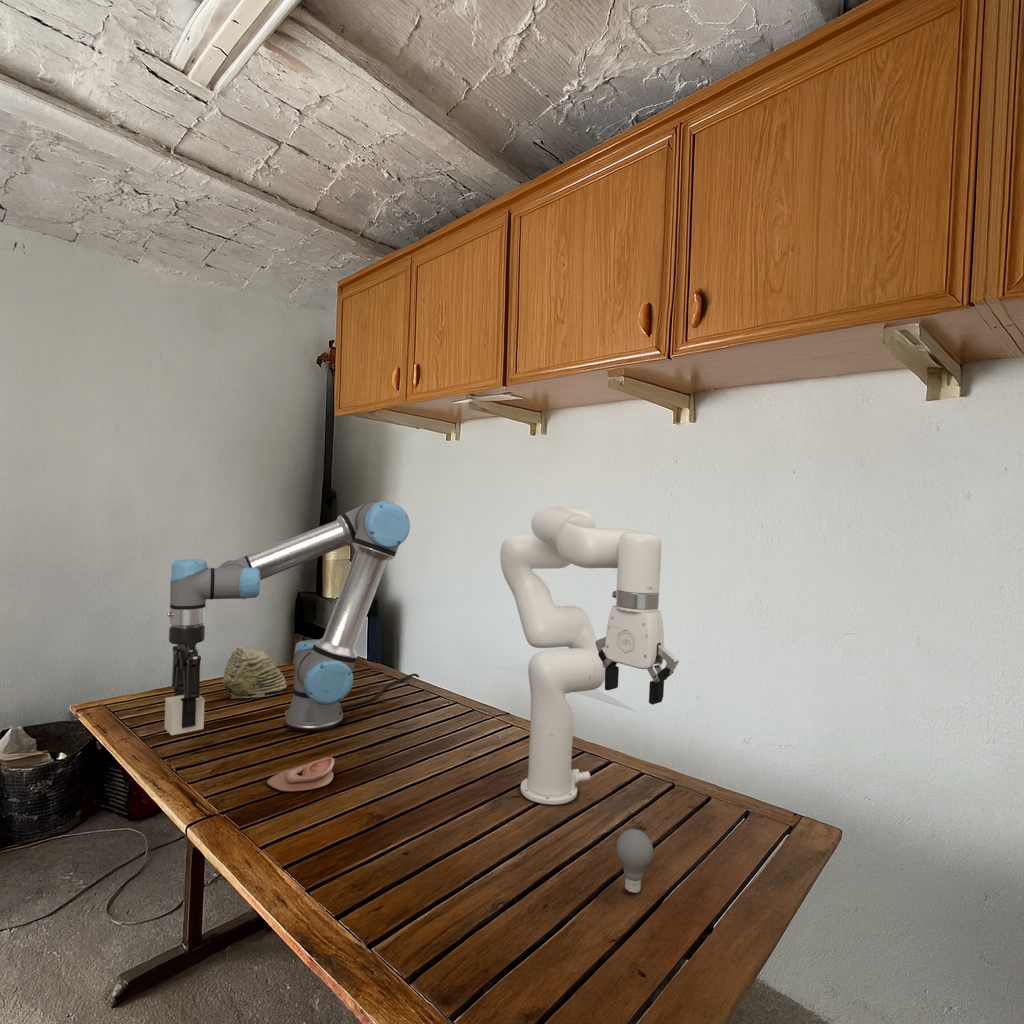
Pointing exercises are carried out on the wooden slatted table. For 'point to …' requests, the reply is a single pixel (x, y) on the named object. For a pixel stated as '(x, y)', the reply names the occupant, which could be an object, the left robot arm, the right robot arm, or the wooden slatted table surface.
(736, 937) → the wooden slatted table surface
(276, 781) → the anatomical model
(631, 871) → the light bulb
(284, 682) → the fossil
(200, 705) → the brick
